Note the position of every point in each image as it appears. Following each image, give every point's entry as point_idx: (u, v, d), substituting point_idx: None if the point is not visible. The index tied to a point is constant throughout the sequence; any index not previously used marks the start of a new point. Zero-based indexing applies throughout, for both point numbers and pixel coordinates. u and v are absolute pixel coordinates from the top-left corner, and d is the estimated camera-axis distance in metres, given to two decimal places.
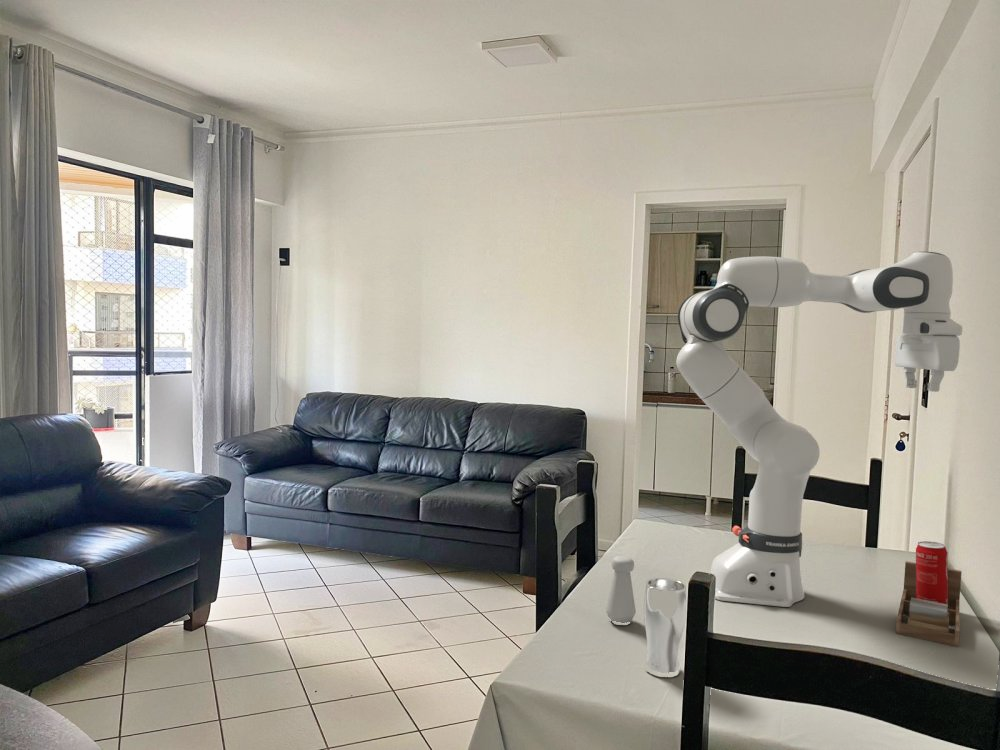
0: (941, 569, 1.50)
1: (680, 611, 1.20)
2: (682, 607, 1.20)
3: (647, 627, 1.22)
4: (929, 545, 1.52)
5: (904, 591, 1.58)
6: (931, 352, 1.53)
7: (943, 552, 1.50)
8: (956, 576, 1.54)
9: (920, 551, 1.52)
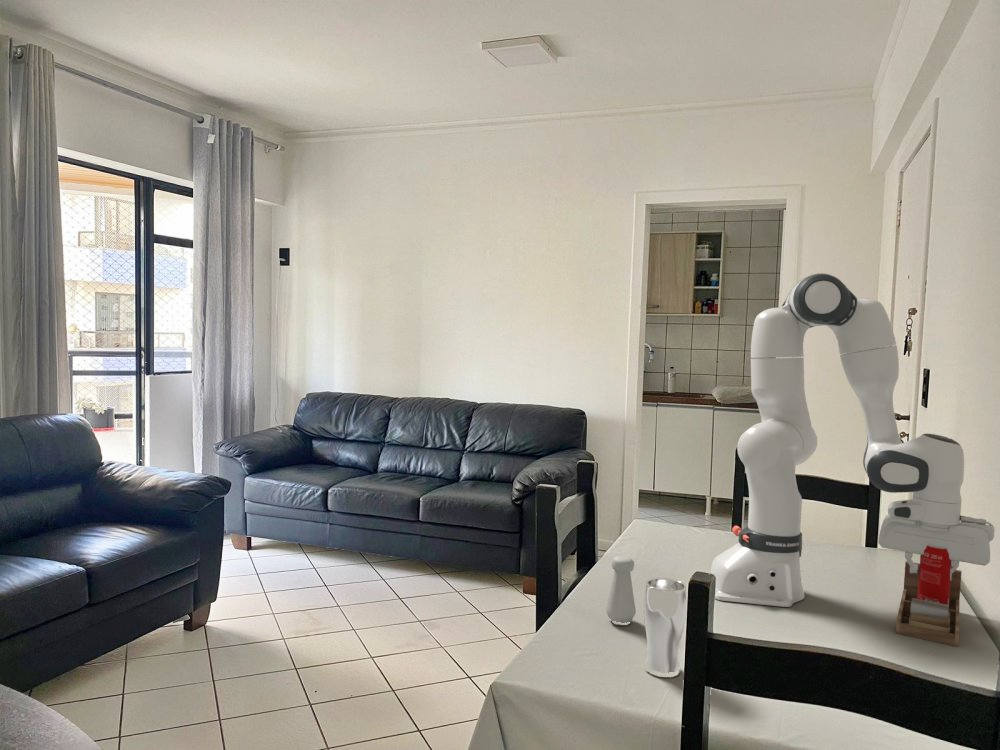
0: (945, 570, 1.49)
1: (680, 611, 1.20)
2: (682, 607, 1.20)
3: (647, 627, 1.22)
4: None
5: (904, 591, 1.58)
6: None
7: None
8: (956, 576, 1.54)
9: (926, 550, 1.51)
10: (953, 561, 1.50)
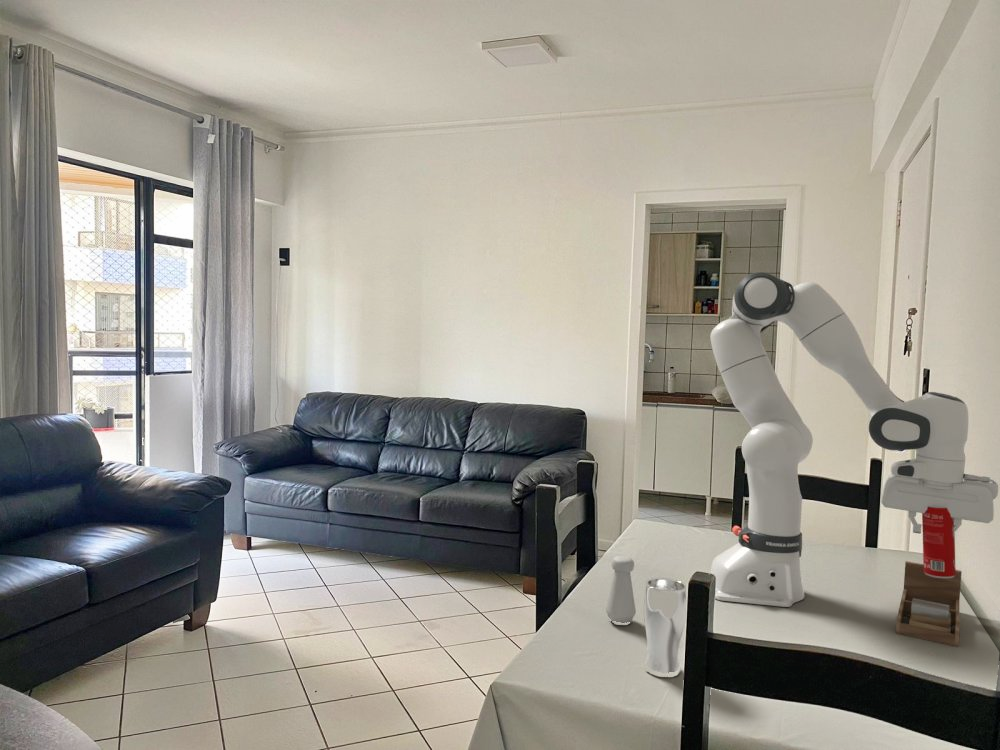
0: (947, 529, 1.49)
1: (680, 611, 1.20)
2: (682, 607, 1.20)
3: (647, 627, 1.22)
4: None
5: (904, 591, 1.58)
6: None
7: None
8: (956, 576, 1.54)
9: (926, 511, 1.51)
10: (956, 519, 1.49)
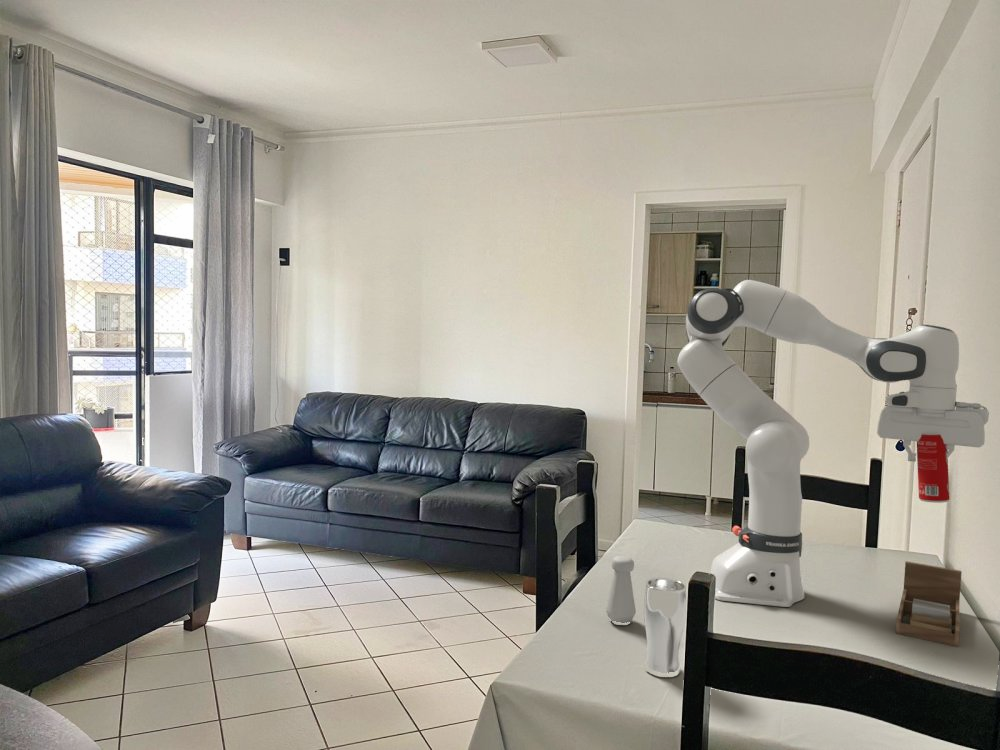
0: (941, 455, 1.55)
1: (680, 611, 1.20)
2: (682, 607, 1.20)
3: (647, 627, 1.22)
4: None
5: (904, 591, 1.58)
6: None
7: (942, 439, 1.55)
8: (956, 576, 1.54)
9: (920, 439, 1.57)
10: (948, 445, 1.55)
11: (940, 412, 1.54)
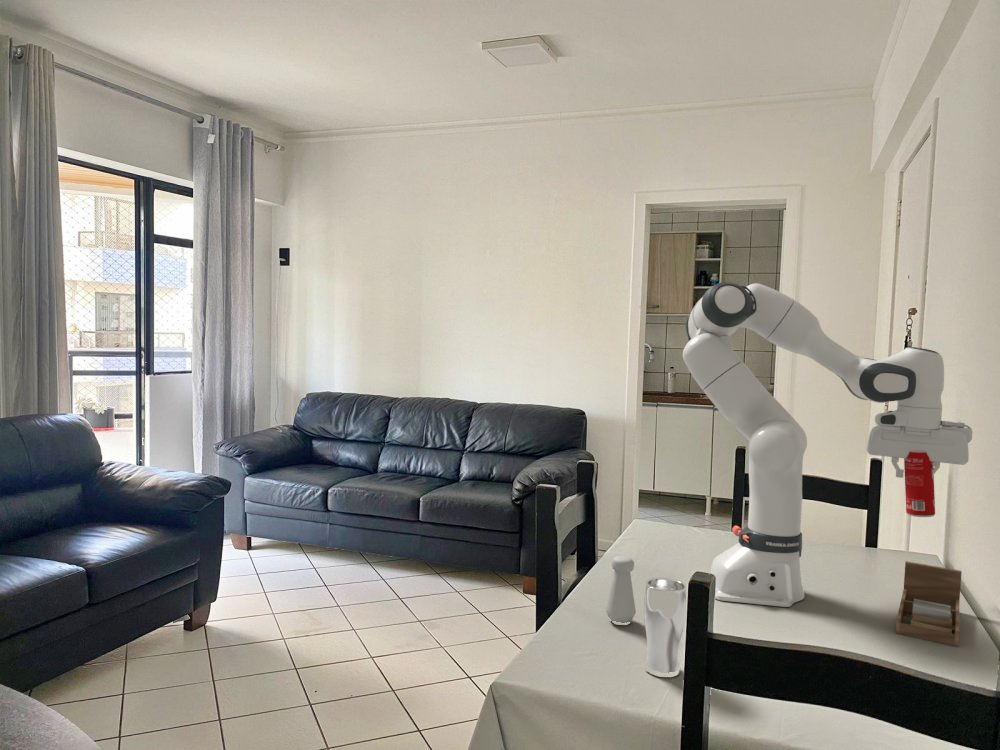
0: (927, 472, 1.62)
1: (680, 611, 1.20)
2: (682, 607, 1.20)
3: (647, 627, 1.22)
4: None
5: (904, 591, 1.58)
6: None
7: (928, 456, 1.62)
8: (956, 576, 1.54)
9: (908, 456, 1.64)
10: (934, 463, 1.62)
11: (926, 431, 1.62)
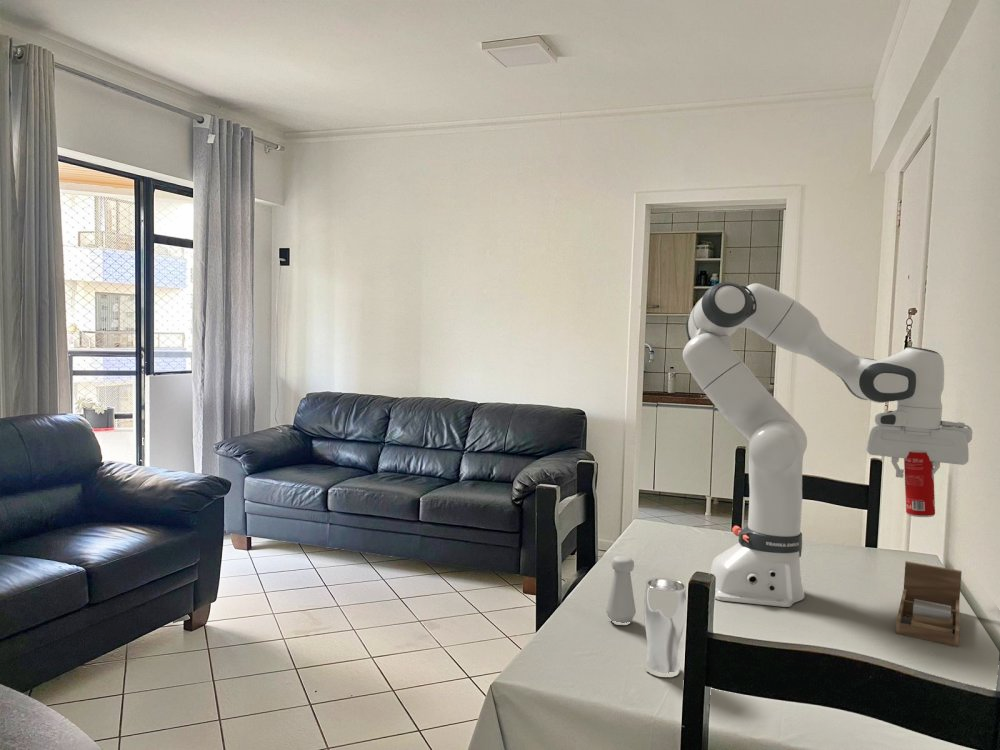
0: (927, 472, 1.62)
1: (680, 611, 1.20)
2: (682, 607, 1.20)
3: (647, 627, 1.22)
4: None
5: (904, 591, 1.58)
6: None
7: (928, 456, 1.62)
8: (956, 576, 1.54)
9: (908, 456, 1.64)
10: (934, 463, 1.62)
11: (926, 431, 1.62)
